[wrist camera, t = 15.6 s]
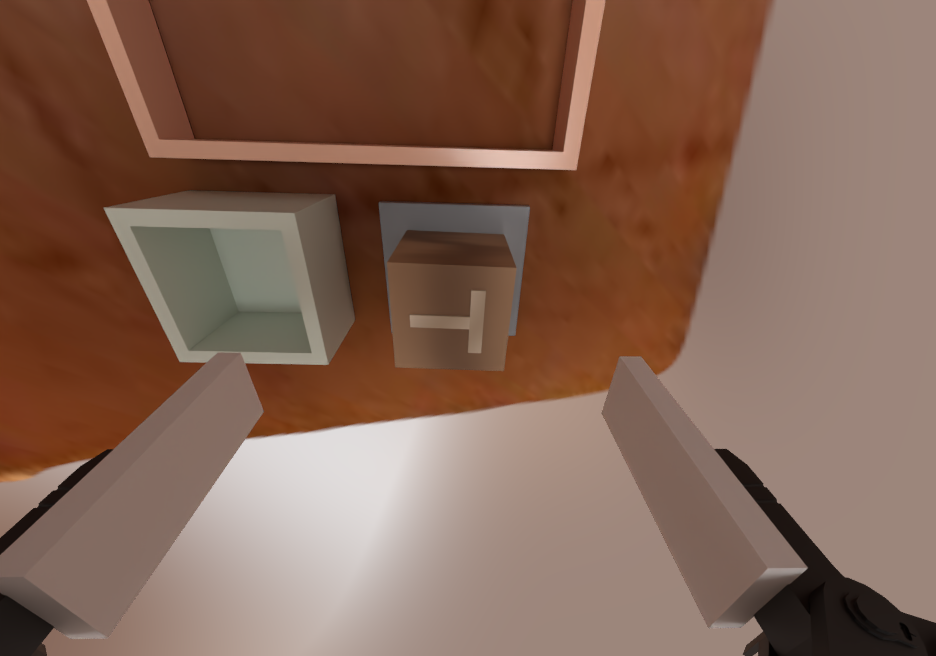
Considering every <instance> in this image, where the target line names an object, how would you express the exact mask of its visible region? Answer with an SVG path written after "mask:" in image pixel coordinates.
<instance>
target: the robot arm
mask: <svg viewBox="0 0 936 656" xmlns="http://www.w3.org/2000/svg"><path fill="white" fill-rule="evenodd" d="M263 412H264V411H263V408H262V406H261V403H260V401H259V398H258V395H257V393H256V390H255V388H254V385H253V383H252V380H251V378H250V375H249V372H248V370H247V367H246V365H245V362H244V360H243V357H242V355H241V353H224V352H218V353H217V354H216V355H214V356H213V357H212V358H211V359H210V360H209V361H208V362H207V363H206V364H205V365H204V366H203V367H202V368H201V369H199V370H198V371H197V372H196V373H195V374H194V375H193V376H192V377H191V378H190V379H189V380H188V381H187V382H186V383H184V384H183V385H182V386H181V387H180V388H179V389H178V390H177V391H176V392H175V393H174V394H173V395H172V396H170V397H169V398H168V399H167V400H166V401H165V402H164V403H163V404H162V405H161V406H160V407H159V408H158V409H157V410H155V411H154V412H153V413H152V414H151V415H150V416H149V417H148V418H147V419H146V420H145V421H144V422H143V423H141V424H140V425H139V426H138V427H137V428H136V429H135V430H134V431H133V432H132V433H131V434H130V435H129V436H128V437H126V438H125V439H124V440H123V441H122V442H121V443H120V444H119V445H118V446H117V447H116V448H115V449H107V450H106V451H104V452H102V453H101V454H99V455H98V456H96V457H95V458H93V459H91V460H90V461H88V462H87V463H85V464H83V465H82V466H80V467H79V468H78V469H77V470H76V471H75V472H73V473H72V474H71V475H70V476H69V477H68V478H67V479H66V480H65V481H63V482H62V483H61V484H60V485H59V486H58V489H57V490H56V491H52V492H51V493H50V494H49V495H48V496H47V497H46V498H44V499H43V500H42V501H41V502H40V503H39V506H38V507H37V508H33V509H32V510H31V511H30V512H29V513H28V514H27V515H25V516H24V517H23V518H22V519H21V520H20V521H19V522H18V523H16V524H15V525H14V526H13V527H12V528H11V529H10V530H9V531H7V532H6V534H4V535H3V536H2V537H1V538H0V656H47V654H46V648H45V645H43V644H42V642H43V640H44V639H45V638H46V637H47V635H48V634H49V633H50V632H51V630H52V629H53V628H55V629H56V630H58V631H59V632H61V633H63V634H64V635H65V636H67V637H68V638H70V639H92V638H93V639H95V638H108V637H109V636H110V635H111V633H112V632H113V630H114V629H115V627H116V626H117V624H118V623H119V621H120V620H121V618H122V617H123V615H124V614H125V613H126V611H127V610H128V608H129V607H130V605H131V604H132V603H133V601H134V600H135V598H136V597H137V595H138V594H139V592H140V591H141V589H142V588H143V586H144V585H145V584H146V582H147V581H148V579H149V578H150V576H151V575H152V573H153V572H154V571H155V569H156V568H157V566H158V565H159V563H160V562H161V560H162V559H163V557H164V556H165V555H166V553H167V552H168V550H169V549H170V547H171V546H172V544H173V543H174V542H175V540H176V539H177V537H178V536H179V534H180V533H181V531H182V530H183V528H184V527H185V525H186V524H187V522H188V521H189V520H190V518H191V517H192V515H193V514H194V512H195V511H196V509H197V508H198V507H199V505H200V504H201V502H202V501H203V499H204V498H205V496H206V495H207V493H208V492H209V491H210V489H211V488H212V486H213V485H214V483H215V482H216V480H217V479H218V478H219V476H220V475H221V473H222V472H223V470H224V469H225V467H226V466H227V464H228V463H229V461H230V460H231V459H232V457H233V456H234V454H235V453H236V451H237V450H238V448H239V447H240V445H241V444H242V443H243V441H244V440H245V438H246V437H247V435H248V434H249V432H250V431H251V430H252V428H253V427H254V425H255V424H256V422H257V421H258V419H259V418H260V417H261V415H262V414H263ZM602 415H603V417H604V419H605V421H606V423H607V425H608V427H609V429H610V431H611V433H612V435H613V437H614V439H615V441H616V443H617V445H618V447H619V449H620V451H621V453H622V455H623V457H624V459H625V461H626V463H627V465H628V467H629V469H630V471H631V473H632V475H633V477H634V479H635V481H636V483H637V485H638V487H639V489H640V491H641V493H642V495H643V497H644V499H645V501H646V503H647V505H648V507H649V509H650V512H651V514H652V515H653V518H654V520H655V522H656V523H657V525H658V527H659V530H660V532H661V534H662V536H663V538H664V540H665V542H666V543H667V546H668V548H669V550H670V552H671V554H672V556H673V558H674V560H675V562H676V564H677V566H678V568H679V570H680V572H681V574H682V576H683V578H684V580H685V582H686V584H687V586H688V588H689V590H690V592H691V594H692V596H693V598H694V600H695V602H696V604H697V606H698V608H699V610H700V612H701V614H702V616H703V618H704V620H705V622H706V624H707V626H708V628H741V627H742V626H744V625H745V624H746V623H747V622H748V621H749V620H750V619H751V618H752V617H755V618H756V620H757V622H758V623H759V625H760V627H761V628H762V630H763V632H762V633H761V634H760V635H759V636H757V637H756V638H755V639H754V640H753V641H751V642H750V643H749V644H747V645H746V647H745V650H744V653H743V655H745V656H753V655H754V654H756V653H757V652H758V656H936V623H934V622H931V621H928V620H924V619H922V618H918V617H915V616H912V615H909V614H905V613H903V612H901V611H899V610H898V609H897V608H896V607H895V606H894V605H893V604H892V603H890V602H889V601H888V600H887V599H886V598H885V597H883V596H882V595H880V594H879V593H877V592H875V591H874V590H872V589H871V588H869V587H868V586H866V585H864V584H862V583H859V582H857V581H854V580H852V579H850V578H845V577H844V576H843V575H842V574H840V572H839V571H838V570H837V569H836V568H835V567H834V566H833V565H832V564H831V563H830V561H829V560H828V559H827V558H826V557H825V555H824V554H823V553H822V552H821V551H820V550H819V548H818V547H817V546H816V545H815V544H814V543H813V541H812V540H811V539H810V538H809V537H808V536H807V534H806V533H805V532H804V531H803V530H802V528H800V526H799V525H798V524H797V523H796V522H795V520H794V519H793V518H792V517H791V516H790V514H789V513H788V512H787V511H786V510H785V509H784V507H783V506H782V505H781V504H778V503H777V500H776V498H775V497H774V496H773V494H772V493H771V492H770V491H769V490H768V489H767V488H766V487H764V486H763V483H762V482H761V480H760V479H759V478H758V477H757V476H756V474H755V473H754V472H753V471H752V470H751V469H750V468H749V466H748V465H747V464H745V463H744V462H743V461H742V460H740V459H739V458H738V457H736V456H735V455H734V454H732V453H731V452H730V451H729V450H727V449H714V448H713V447H712V446H711V445H710V443H709V442H708V441H707V440H706V438H705V437H704V436H703V434H702V433H701V432H700V431H699V429H698V428H697V427H696V426H695V424H694V423H693V422H692V421H691V419H690V418H689V417H688V416H687V414H686V413H685V412H684V411H683V409H682V408H681V407H680V405H679V404H678V403H677V402H676V400H675V399H674V398H673V397H672V395H671V394H670V393H669V392H668V390H667V389H666V388H665V387H664V385H663V384H662V383H661V381H660V380H659V379H658V378H657V376H656V375H655V374H654V372H653V371H652V370H651V369H650V367H649V366H648V365H647V364H646V362H645V361H644V360H643V359H642V357H621V356H620V357H619V360H618V364H617V367H616V370H615V373H614V376H613V379H612V382H611V385H610V389H609V392H608V395H607V398H606V401H605V404H604V407H603V411H602Z"/></svg>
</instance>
